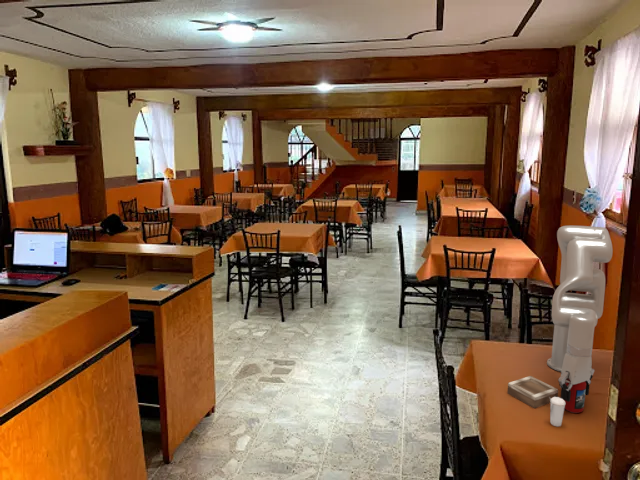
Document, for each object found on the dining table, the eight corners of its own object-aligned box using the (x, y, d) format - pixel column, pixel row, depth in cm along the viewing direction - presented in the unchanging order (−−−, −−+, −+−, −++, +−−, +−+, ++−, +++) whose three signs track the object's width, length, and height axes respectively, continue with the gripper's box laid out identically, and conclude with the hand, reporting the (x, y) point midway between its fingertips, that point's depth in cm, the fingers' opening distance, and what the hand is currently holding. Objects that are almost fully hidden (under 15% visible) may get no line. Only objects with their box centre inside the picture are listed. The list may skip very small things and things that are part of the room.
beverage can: (582, 416, 166) (586, 384, 164) (560, 410, 170) (563, 379, 167) (584, 407, 172) (587, 375, 169) (562, 402, 175) (565, 371, 173)
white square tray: (529, 385, 187) (530, 375, 186) (557, 400, 177) (558, 389, 176) (507, 393, 182) (508, 382, 181) (534, 408, 171) (535, 397, 171)
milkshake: (543, 420, 164) (545, 393, 162) (558, 419, 164) (561, 392, 162) (550, 428, 159) (553, 400, 158) (566, 427, 160) (569, 399, 158)
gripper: (585, 341, 173) (580, 386, 176) (552, 350, 165) (548, 397, 168) (605, 349, 166) (600, 395, 169) (572, 359, 158) (567, 407, 162)
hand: (574, 396), depth 169 cm, fingers open, 9 cm apart
